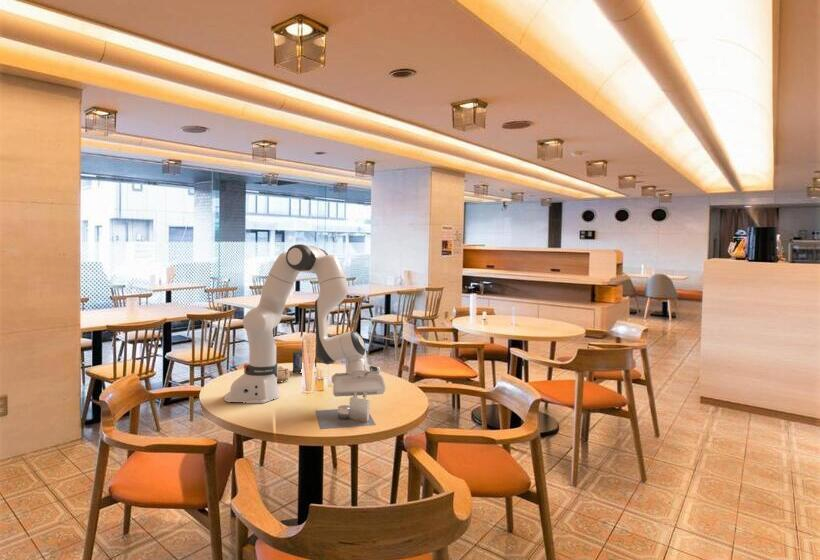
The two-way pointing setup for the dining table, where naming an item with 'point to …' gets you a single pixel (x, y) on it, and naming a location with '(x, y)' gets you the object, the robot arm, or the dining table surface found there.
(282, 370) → the trinket box
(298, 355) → the small box
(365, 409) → the grey block with knob
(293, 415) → the dining table surface
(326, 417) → the base plate
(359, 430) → the dining table surface
